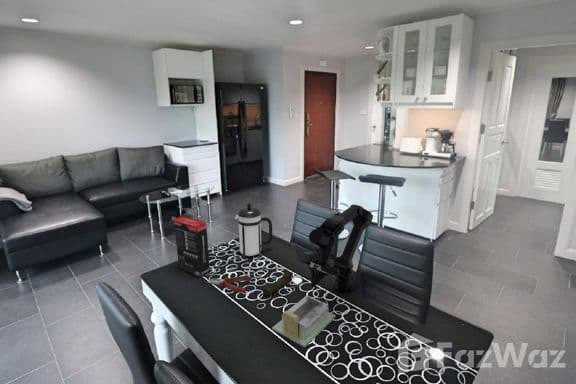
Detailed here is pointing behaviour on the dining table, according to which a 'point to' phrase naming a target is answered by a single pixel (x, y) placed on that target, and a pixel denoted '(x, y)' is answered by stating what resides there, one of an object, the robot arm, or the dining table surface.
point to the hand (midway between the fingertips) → (312, 286)
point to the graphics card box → (192, 246)
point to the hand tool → (277, 284)
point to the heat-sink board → (304, 322)
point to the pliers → (225, 283)
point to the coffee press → (251, 230)
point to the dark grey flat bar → (305, 308)
